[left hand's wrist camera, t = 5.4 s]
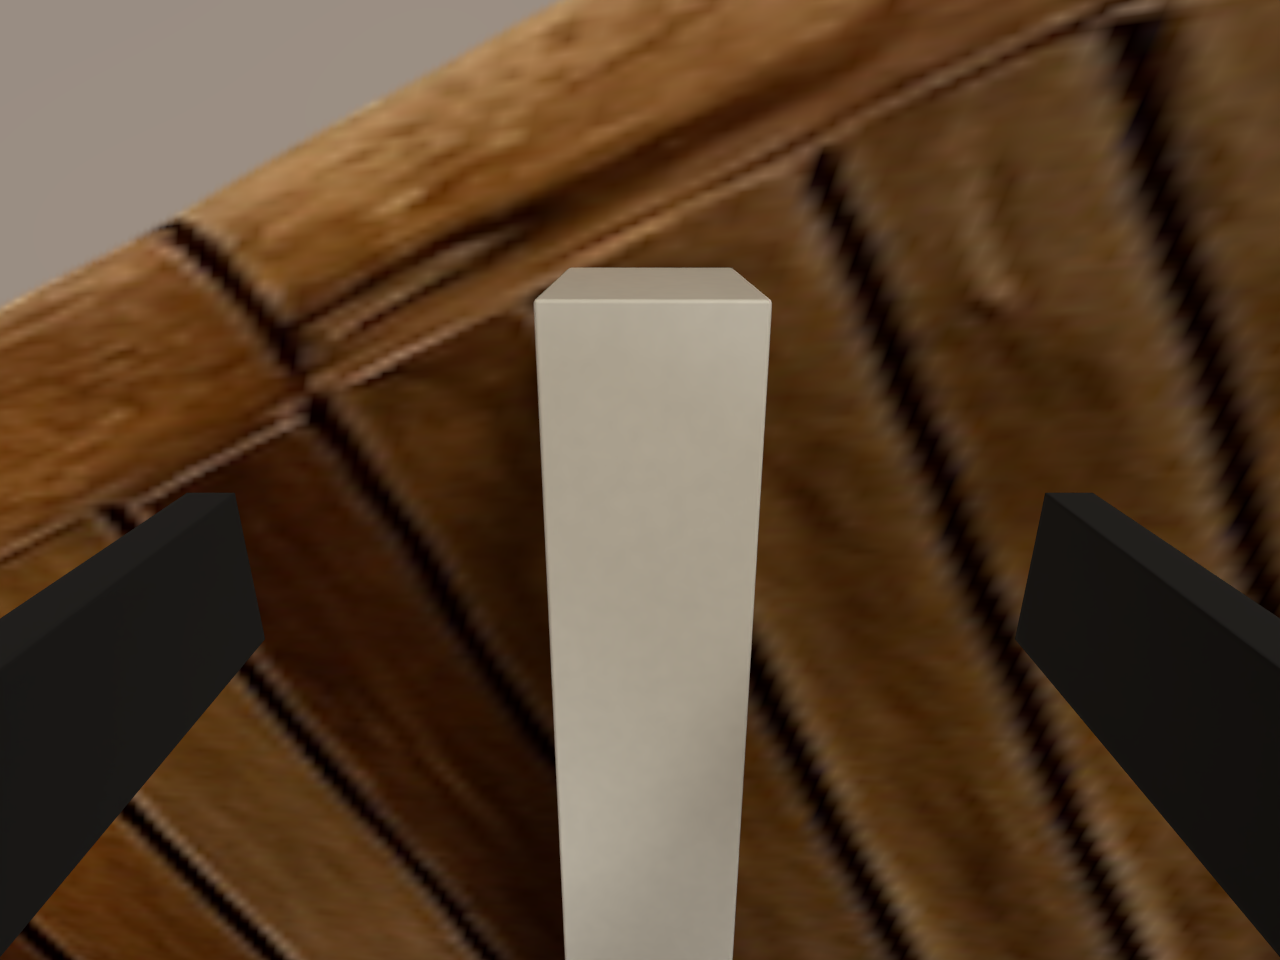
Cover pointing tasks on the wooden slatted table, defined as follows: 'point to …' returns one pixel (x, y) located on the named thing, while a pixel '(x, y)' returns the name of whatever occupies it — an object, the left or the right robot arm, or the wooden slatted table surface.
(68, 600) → the left robot arm
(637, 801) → the beam
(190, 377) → the wooden slatted table surface
